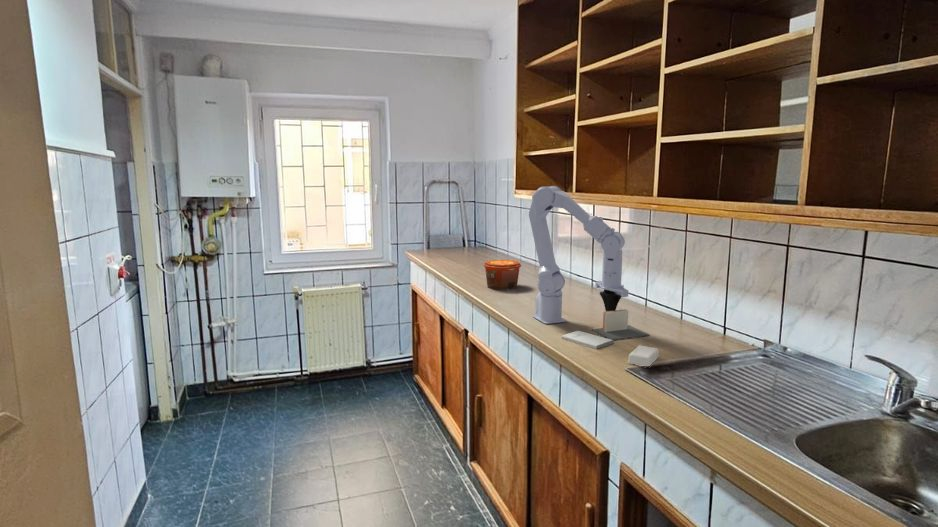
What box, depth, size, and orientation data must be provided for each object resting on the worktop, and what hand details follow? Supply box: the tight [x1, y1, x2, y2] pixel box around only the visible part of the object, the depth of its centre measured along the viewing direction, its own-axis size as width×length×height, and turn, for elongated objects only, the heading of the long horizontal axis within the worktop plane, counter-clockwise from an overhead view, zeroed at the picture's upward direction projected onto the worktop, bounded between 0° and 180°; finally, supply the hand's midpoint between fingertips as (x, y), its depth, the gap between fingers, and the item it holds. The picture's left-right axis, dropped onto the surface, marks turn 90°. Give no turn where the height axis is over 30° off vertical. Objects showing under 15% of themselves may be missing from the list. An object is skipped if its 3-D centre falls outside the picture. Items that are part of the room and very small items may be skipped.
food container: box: [483, 259, 522, 291], centre depth 222 cm, size 16×16×11 cm
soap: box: [628, 344, 660, 367], centre depth 135 cm, size 9×6×3 cm, turn 145°
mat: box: [591, 324, 651, 341], centre depth 158 cm, size 10×14×1 cm
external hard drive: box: [561, 330, 614, 350], centre depth 151 cm, size 2×8×12 cm
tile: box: [602, 308, 629, 332], centre depth 159 cm, size 2×8×6 cm, turn 110°
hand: (610, 314), depth 162 cm, fingers closed
